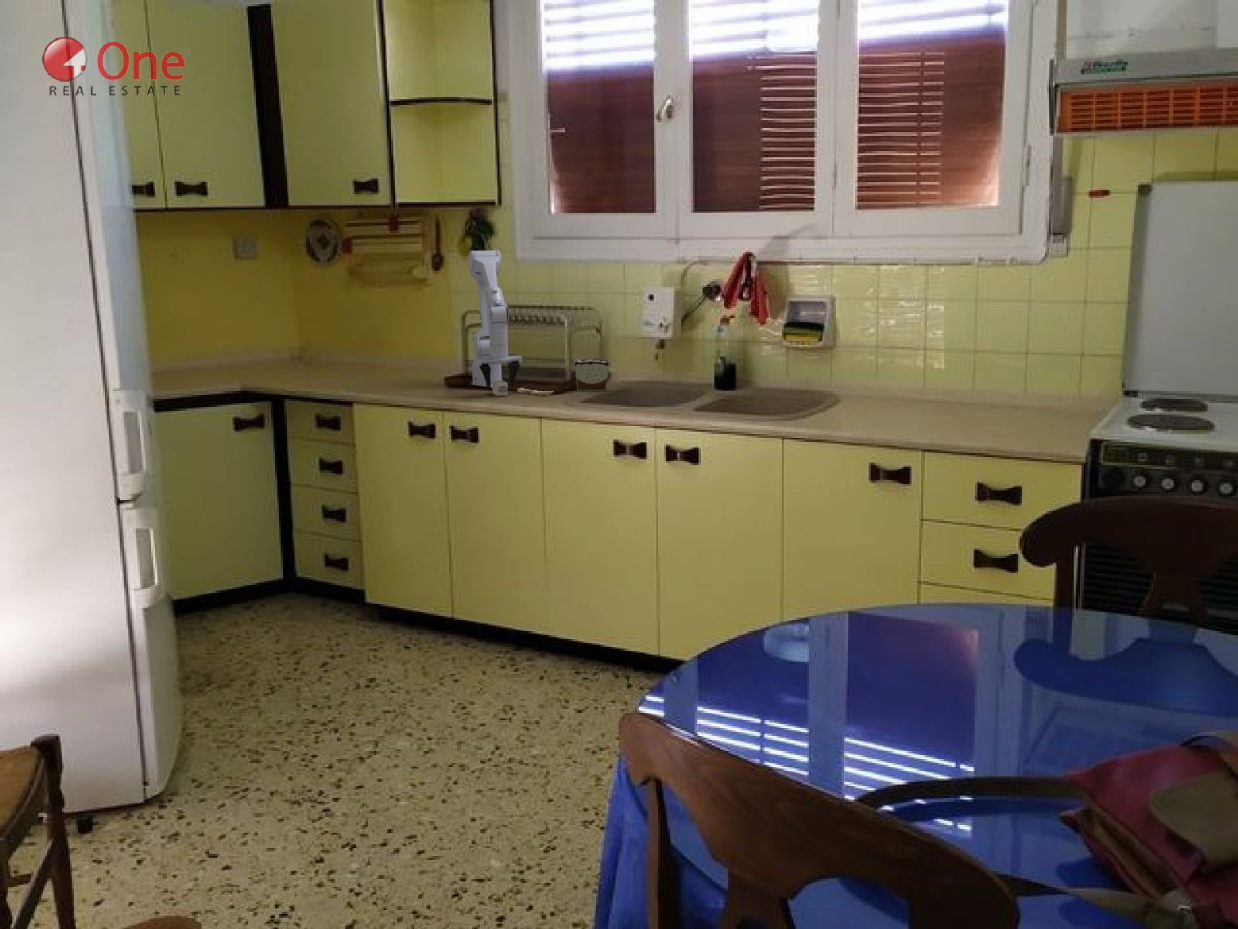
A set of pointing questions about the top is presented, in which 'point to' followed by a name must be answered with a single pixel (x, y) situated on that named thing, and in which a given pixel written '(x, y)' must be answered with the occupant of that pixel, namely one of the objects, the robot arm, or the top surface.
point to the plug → (500, 387)
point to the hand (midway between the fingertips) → (500, 386)
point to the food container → (591, 373)
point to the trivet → (534, 391)
